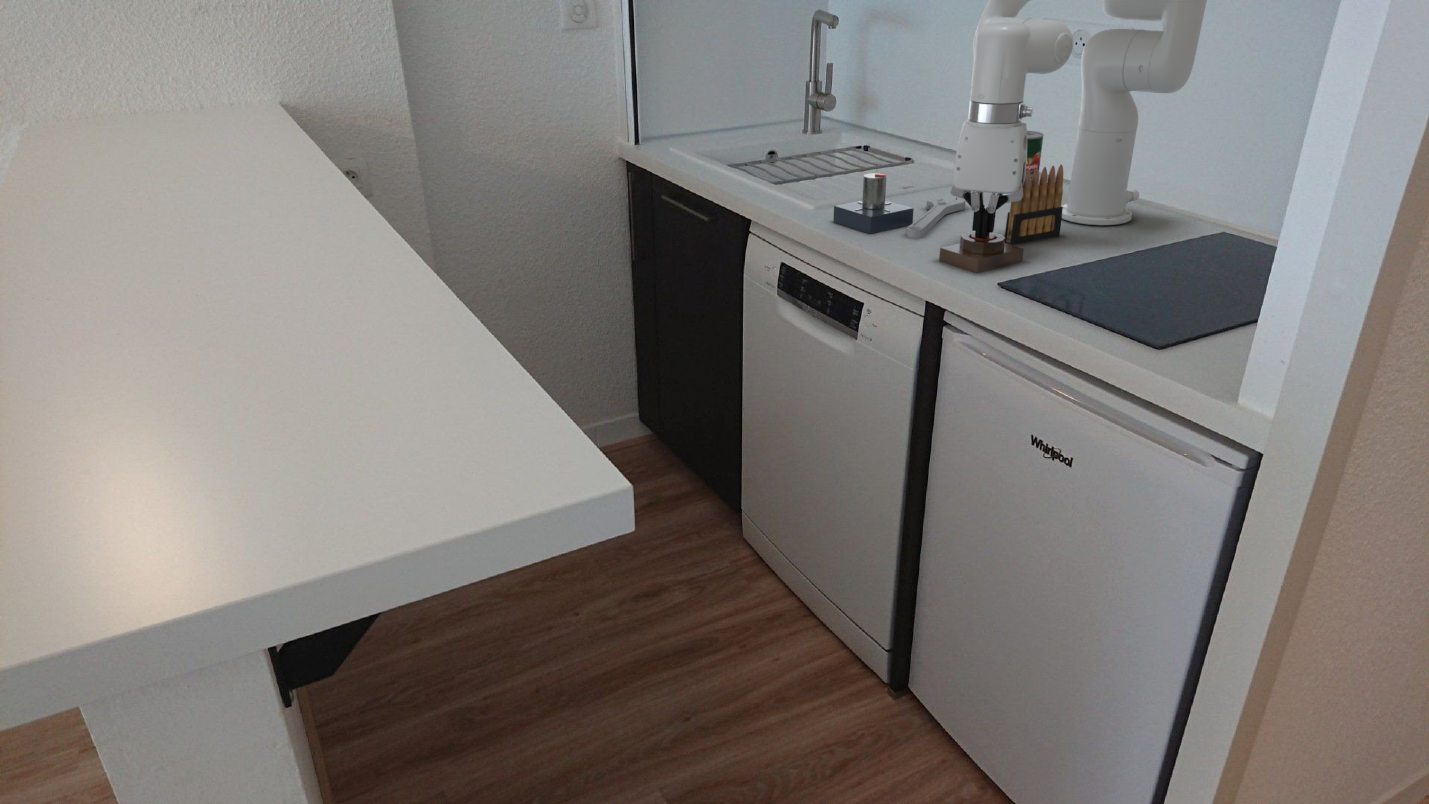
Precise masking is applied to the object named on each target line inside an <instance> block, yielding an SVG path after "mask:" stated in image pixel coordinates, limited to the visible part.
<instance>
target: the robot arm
mask: <svg viewBox="0 0 1429 804" xmlns="http://www.w3.org/2000/svg"><path fill="white" fill-rule="evenodd" d="M1030 1H1032V0H987V2H986V3H985V6H984V9H983V10H982V11H983V12H982V13H981V16H980V19H979V21H978V24H977V26H976V28H975V29H976V30H975V33H974V36H973V43H972V52H973V61H972V73H971V74H972V75H971V84H970V85H971V86H970V95H969V96H970V97H969V105H968V116H967V117H968V118H967V120H964V122H962V127H961V130H960V133H959V138H958V142H957V148H956V152H955V158H954V165H953V170H952V171H953V172H952V187H951V189H950V194H951V195H952V196H954V197H959V198H963V199H965V200H966V201H965V203H967V205H968V206H970V208H971V211H972V212H973V215H972V216H973V217H972V226H971V230H972V232H973V231H975V238H979V237H982V238H983V239H986V238H987V237H988V235H989V234H990V232H991V233H992V232H994V230H995V224H996V223H995V222H996V213H997V210H999V209H1000V208H1002V207H1003V206H1004V205H1005V204H1008V203H1010V204H1011V202H1016V201H1020V200H1022V198H1023V196H1024V195H1023V188H1022V186H1023V185H1024V182H1025V176H1026V163H1027V131H1028V128H1027V123H1026V122H1022V120H1023V119H1024V118H1027V117H1030V118H1031V117H1032V116H1033V113H1034V112H1033V110H1034V108H1033V106H1028V105H1026V104H1025V101H1024V98H1025V89H1026V80H1027V74H1035V75H1038V74H1039V75H1046V74H1047V75H1048V74H1051V73H1054V72H1056V71H1059V70H1060V69H1061V68H1063V66H1065V64H1066V63H1067V62H1068V61H1069V59H1070V57H1071V55H1072V52H1073V48H1074V37H1073V33H1072V31H1071V30H1070V28H1069V27H1068V26H1067V25H1066V24H1065V23H1064V22H1062V21H1059V20H1057V19H1051V18H1032V17H1017V16H1018V14H1019V13H1020V12H1021V11H1022V10H1023V8H1024V7H1026V5H1027V4H1028V3H1030ZM1100 3H1101V9H1102V12H1103V14H1104V15H1105V16H1106V17H1108V18H1111V19H1114V20H1115V19H1116V20H1121V21H1135V22H1136V21H1137V22H1138V21H1141V22H1162V26H1163V28H1162V30H1150V29H1149V30H1147V29H1136V28H1132V29H1131V28H1110V29H1103V30H1102V31H1099V32H1096V33H1095V34H1093V35H1092V36H1091V37H1090V38H1089V39H1088V40H1087V41H1086V43H1085V44H1084V47H1083V48H1082V52H1081V59H1080V73H1081V75H1080V76H1081V99H1080V100H1081V101H1080V111H1079V117H1078V118H1079V119H1078V126H1077V133H1076V140H1075V147H1074V152H1073V153H1074V155H1073V161H1072V168H1071V177H1070V184H1069V191H1068V198H1067V203H1065V204H1061V207H1063V209H1062V219H1061V220H1065V221H1067V222H1071V223H1075V224H1081V225H1089V226H1116V225H1122V224H1126V223H1128V222H1130V221H1132V219H1133V212H1132V211H1131V210H1130V209H1129V208H1127V204H1128V203H1129V202H1130V203H1131V202H1134V201H1137V200H1138V199H1139V198H1140V192H1139V191H1138V190H1137V189H1132V190H1128V187H1129V178H1130V173H1131V167H1132V161H1133V156H1134V155H1133V154H1134V149H1135V144H1136V143H1135V142H1136V137H1137V132H1138V131H1137V130H1138V125H1139V112H1138V107H1137V105H1136V102H1135V100H1134V98H1133V96H1132V93H1131V92H1142V93H1151V94H1152V93H1153V94H1172V93H1176V92H1178V91H1180V90H1181V89H1183V88H1184V86H1185V85H1186V84H1187V82H1188V80H1189V79H1190V76H1191V73H1192V72H1193V68H1194V63H1195V60H1196V54H1197V51H1198V44H1199V40H1200V36H1201V31H1202V25H1203V20H1204V16H1205V11H1206V6H1207V0H1101V2H1100ZM984 193H989V194H990V197H989V199H988V205H987V207H986V208H985V206H986V205H985V204H984Z"/></svg>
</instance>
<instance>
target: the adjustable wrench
mask: <svg viewBox="0 0 1429 804" xmlns="http://www.w3.org/2000/svg"><path fill="white" fill-rule="evenodd" d="M926 209H927V210H928V211H926V212H925V213H923V215H921V216H920V217H918V218H917V219H916V220H915V221H913V223H912V224H911V225H908V226H906V227H907V228H906V237H907V238H912V239H918V238H922V237H923V236H924V235H925V234H927V233H928V232H929V231H930V230H931V229H932V228H933V227H934V226H935V225H936V224H937V223H938V222H939V221H941V219H942V218H943V217H944V216H946V215H948V214H951V213H954V212H960V211H962V210H964V209H966V200H965V199H963V198H959V197H957V196H955V199H953V200H943V197H942V196H935V197H932V198H930V199H929V200H927V201H926Z"/></svg>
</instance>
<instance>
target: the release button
mask: <svg viewBox="0 0 1429 804" xmlns="http://www.w3.org/2000/svg"><path fill="white" fill-rule="evenodd" d="M971 239H975V240H982V241H988V240H995V236H994V235H992V234H989V235H988V237H987V238H986V239H983V238H982V237H979V238H975V233H974V234H972V235H971Z"/></svg>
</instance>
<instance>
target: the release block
mask: <svg viewBox="0 0 1429 804" xmlns="http://www.w3.org/2000/svg"><path fill="white" fill-rule="evenodd" d="M974 233H975V231H973V230H972V231H968V232H963V233H962V234H961V235H960V241H959V243H955V244H950V245H947V246H942V247H940V248H939V257H938V258H939V259H938V261H939V262H941V263H944V264H947V265H950V266H953V267H957V268H959V269H962V270H965V271H968V272H972V273H974V274H982V273H984V272H988V271H992V270H996V269H1001V268H1004V267H1007V266H1010V265H1011V266H1012V265H1015V264H1018V263H1023V261H1024V260H1023V259H1024V250H1025V249H1024V248H1023V247H1021V246H1017V245H1015V244H1014V245H1010V244H1007V243H1005V237H1004V236H1005V235H1003V234H1001V233H997V232H994V231H993V232H992V233H991V232H990V234H992V235H994V236H995V240H988V241H982V240H975V239H971V235H972V234H974Z"/></svg>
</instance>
